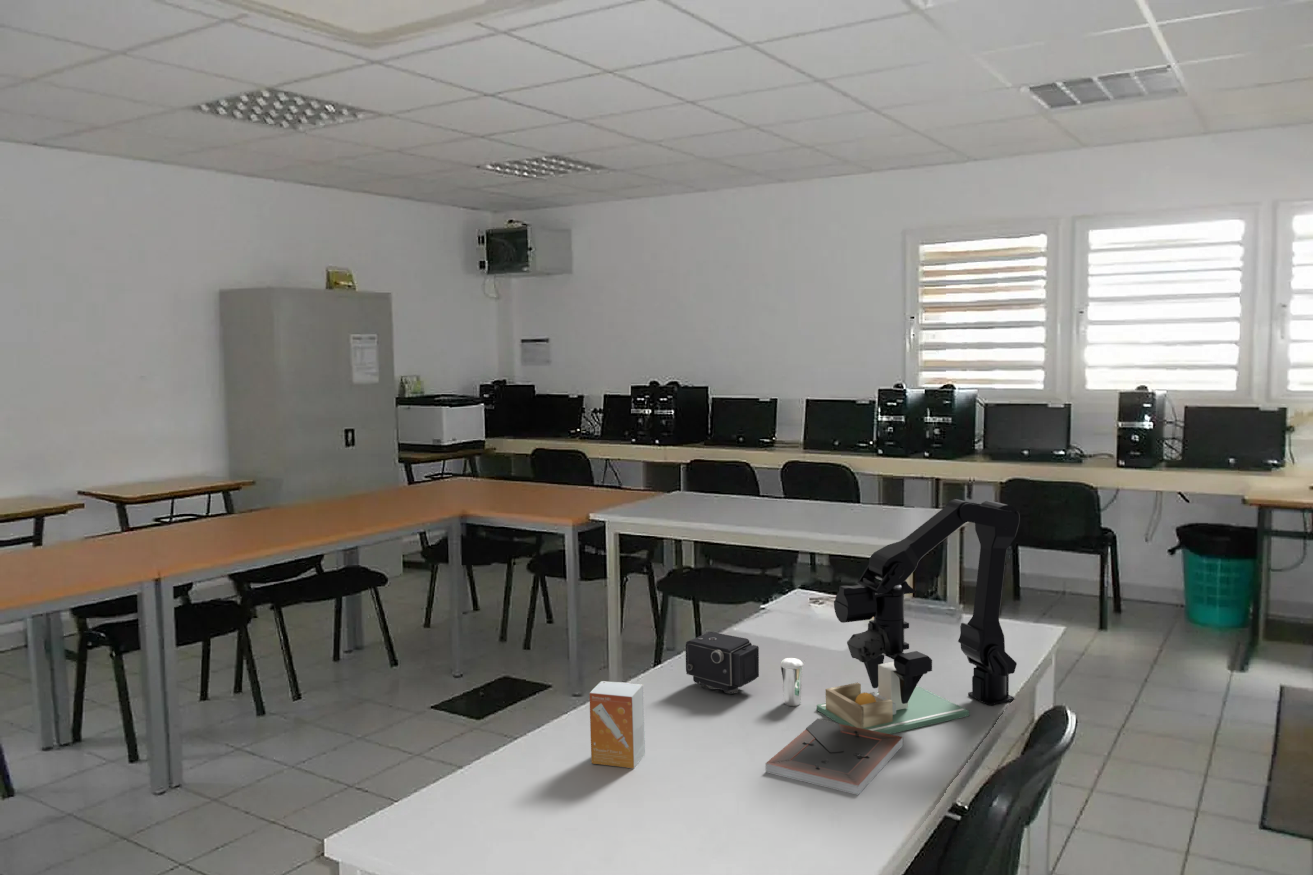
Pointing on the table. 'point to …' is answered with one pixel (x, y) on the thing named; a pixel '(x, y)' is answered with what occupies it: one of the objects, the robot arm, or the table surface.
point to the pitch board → (912, 713)
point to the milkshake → (792, 680)
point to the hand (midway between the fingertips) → (889, 695)
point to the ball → (865, 698)
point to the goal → (857, 707)
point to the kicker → (889, 686)
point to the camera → (722, 661)
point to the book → (835, 756)
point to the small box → (617, 724)
